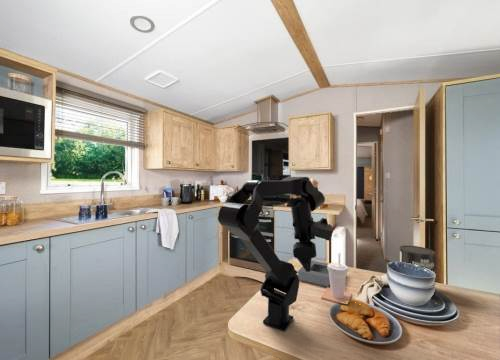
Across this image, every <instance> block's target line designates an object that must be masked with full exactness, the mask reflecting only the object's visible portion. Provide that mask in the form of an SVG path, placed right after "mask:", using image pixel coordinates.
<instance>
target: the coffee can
mask: <svg viewBox="0 0 500 360" xmlns="http://www.w3.org/2000/svg"><path fill="white" fill-rule="evenodd" d="M436 255H437V253H436V251H434V250H433V249H429V248H427V247H422V246H417V245H400V246H399V263H400V262H406V263H411V264H412V265H413V264H416V265H419V266H421V267H425V268H428V269H430V270H431V271H433V272H434V273H435V274H436Z"/></svg>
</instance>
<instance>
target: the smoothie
mask: <svg viewBox="0 0 500 360" xmlns="http://www.w3.org/2000/svg"><path fill="white" fill-rule="evenodd" d="M327 269H328V271H329V279H330V288H331V295H332V296H333V297H334V298H338V299H341V298H343V296H344V291H345V287H346V282H347V275H348V274H347V273H348V272H349V267H348V266H347V265H346V264H343V263H341V253H340V252H339V253H338V262H329V263H328V265H327Z"/></svg>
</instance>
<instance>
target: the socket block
mask: <svg viewBox="0 0 500 360" xmlns="http://www.w3.org/2000/svg"><path fill="white" fill-rule="evenodd" d="M328 264H329V263H326V262H321V261H315V260H312V259H311V268H310V272H306V270H305V269H304V267H303V266H301V267H300V269H298V270H297V271H298V273H297V275H298V277H299V282H304V283H308V284H312V285H317V286H321V287H325V288H327V287H328V288H330V279H329V271H328V269H327V265H328Z"/></svg>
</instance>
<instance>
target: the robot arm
mask: <svg viewBox="0 0 500 360" xmlns="http://www.w3.org/2000/svg"><path fill="white" fill-rule="evenodd" d="M276 195H277V196H278V195H285V196H293V197H290V198H289V199H288V202H287V203H286V206H285V207H287V208H288V207H289V208H290V209H291V215H292V227H293V231H294V235H293V236H294V240H298V241H296V242H295V243H294V244H293V246H292V247H293V248H292V254H293V257H294V258H295V259H297V260H298V262H299V263H300V265H301V267H304V269H305V270H306V272H310V268H311V260H312V259H314V258H316V257H317V248H316V247H317V246H316V244H315V242H313V241H312V240H315V239H316V237H317V238H318V239H319V238H320V239H323V240H326V241H327V242H328V241H331V239H332V237H333V233H334V228H333V226H332V224H331V223H329V222H328V219H327V218H325V217H321V218H320V220H318V221H314V217H313V216H312V212H314V211H315V210H317V209H318V208H320V207H322V206H323V205H324V203H325V201H326V199H325V195H324V193H322V192H321V191H320V190H319V188H318V186H314V184H313V183H312V182H311V180H310V178H309V177H308V176H288V177H284V178H282V179H281V180H262V179H249V180H247V181H245V182H244V183H243V184H242V186H241V188H239V189H238V190H236V191H235V192H234V193H233V194H231V196H229V197H228V199H227V200H226V201H225V203H224V204H222V205H221V206H220V208H219V211H218V216H217V221H218V223H219V224H220V225H221V227H223V228H224V229H226V230H227V232H229V233H231V234H232V235H233V236H236V238H237V237H238V238H239V239H240V240H241V241H242V242H243V243H244V245H245V246H246V248H247V249H248V250H249V252H250V253H251V254H252V255H253V257H254V258H255V259H256V261H257V262H258V264H259V265H260V266H261V267H262V269H263V270H264V271H265V272H264V273H265V275H264V281H263V284H262V285H261V287H260V289H259V291H260V296H262V297H265V298H266V299H267V315H266V317H265V318H264V319H263V321H262V324H264V325H267V326H269V327H272V328H274V329H278V330H280V331H283V332H284V331H285V332H286V331H287V329H288V328H289V327H290V325H291V323H292V322H293V320H294V319H295V317H294V316H293V315H292V314H291V315H290V306H291V305H292V304H294V303H295V302H297V299H298V293H299V289H300V281H299V277H298V271H299V270H296V269H295V266H294V265H293V263H291V262H287V261H284V260H282V259H280V258H279V257H278V255H277V254H276V252H275V251H274V249H273V248H272V246H271V245H270V243H269V242H268V240H267V239H266V238H265V236H264V234H263V233H262V232H261V230H260V229H259V228H260V218H259V216H260V215H261V212H262V211H263V202H264V198H265V197H266V196H276ZM294 196H295V197H294ZM251 197H252V200H251V201H250V203H249V204H245V202H246V201H248V200H249V199H250V198H251Z"/></svg>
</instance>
